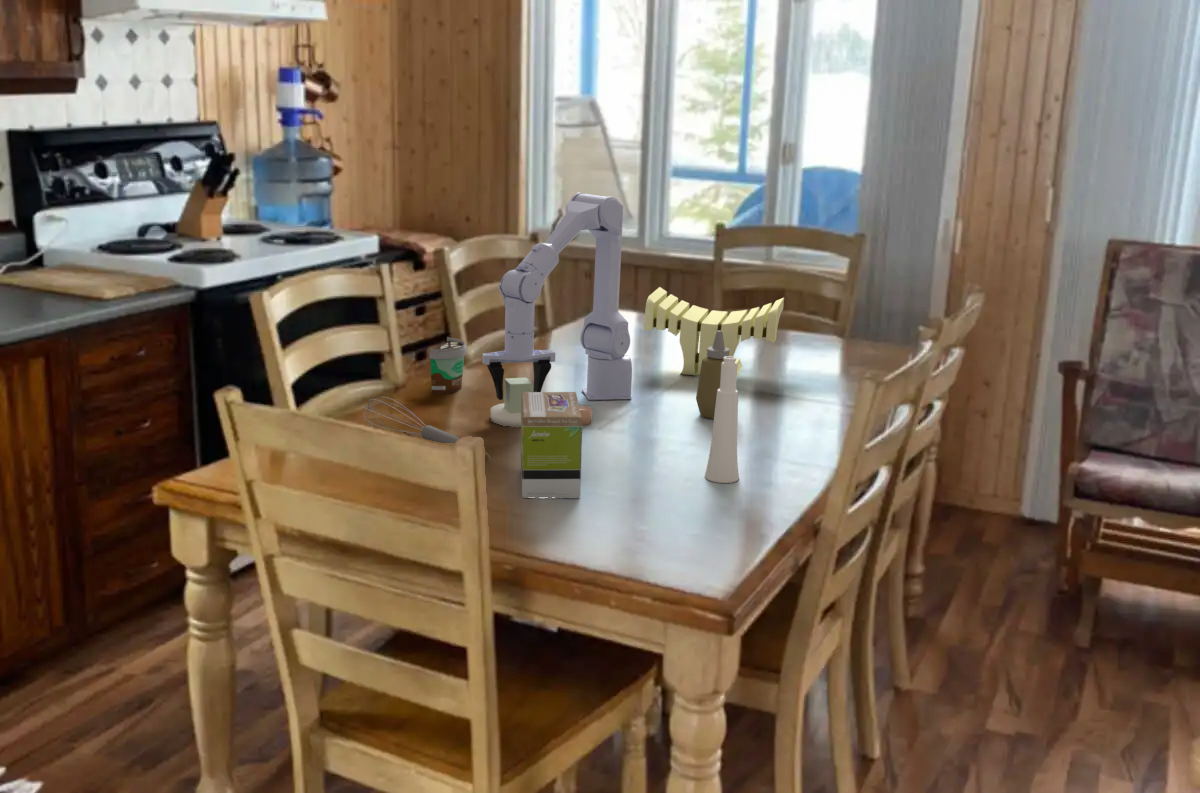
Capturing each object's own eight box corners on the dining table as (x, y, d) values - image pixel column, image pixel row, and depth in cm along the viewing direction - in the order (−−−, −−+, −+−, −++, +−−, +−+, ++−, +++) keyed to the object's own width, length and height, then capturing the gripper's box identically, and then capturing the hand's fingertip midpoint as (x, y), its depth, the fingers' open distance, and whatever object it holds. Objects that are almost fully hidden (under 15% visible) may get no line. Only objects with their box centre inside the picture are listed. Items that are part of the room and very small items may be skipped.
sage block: (525, 405, 246) (526, 377, 244) (531, 412, 242) (532, 383, 240) (504, 407, 244) (504, 378, 243) (509, 413, 240) (510, 384, 239)
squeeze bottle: (737, 413, 254) (743, 329, 249) (728, 423, 246) (734, 337, 241) (700, 408, 256) (705, 325, 251) (690, 418, 249) (695, 333, 244)
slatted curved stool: (642, 373, 282) (645, 298, 277) (656, 358, 297) (659, 286, 292) (770, 386, 275) (776, 310, 270) (778, 370, 290) (784, 297, 285)
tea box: (519, 469, 215) (520, 389, 211) (575, 470, 215) (578, 390, 211) (520, 500, 200) (522, 414, 196) (581, 500, 201) (584, 415, 197)
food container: (456, 397, 257) (457, 351, 255) (429, 394, 258) (429, 349, 256) (474, 382, 269) (474, 339, 266) (447, 380, 270) (447, 336, 267)
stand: (540, 410, 250) (540, 401, 249) (549, 426, 239) (549, 417, 239) (487, 412, 248) (487, 402, 247) (494, 428, 237) (494, 418, 237)
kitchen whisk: (478, 468, 215) (478, 434, 213) (356, 428, 236) (355, 397, 234) (502, 460, 220) (502, 427, 218) (380, 421, 240) (380, 391, 238)
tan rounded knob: (588, 419, 246) (589, 404, 245) (593, 426, 241) (594, 411, 241) (564, 419, 245) (565, 405, 244) (569, 427, 240) (569, 412, 240)
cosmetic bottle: (743, 482, 212) (752, 361, 206) (710, 484, 211) (718, 362, 205) (732, 471, 218) (741, 352, 212) (700, 472, 216) (708, 353, 210)
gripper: (548, 325, 244) (547, 390, 248) (478, 328, 240) (478, 394, 243) (559, 333, 238) (557, 399, 242) (487, 336, 233) (486, 403, 237)
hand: (518, 397), depth 242 cm, fingers open, 7 cm apart
